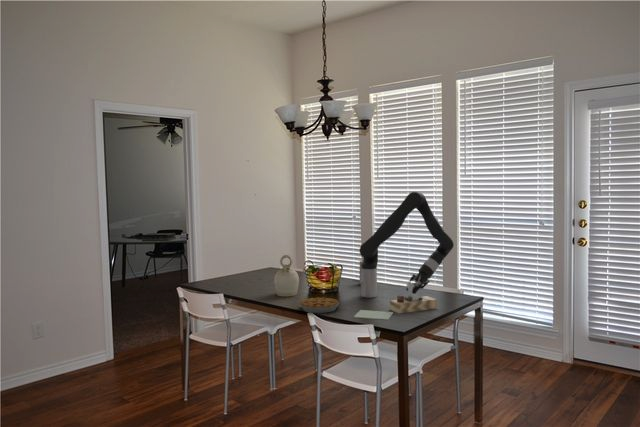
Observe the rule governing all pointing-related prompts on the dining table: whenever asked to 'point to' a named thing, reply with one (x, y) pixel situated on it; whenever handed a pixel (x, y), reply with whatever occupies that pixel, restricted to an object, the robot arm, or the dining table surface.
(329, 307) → the pie
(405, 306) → the beige notched block
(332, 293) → the dining table surface
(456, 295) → the dining table surface
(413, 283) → the lever cap
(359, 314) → the mat
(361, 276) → the skincare box
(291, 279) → the jug
